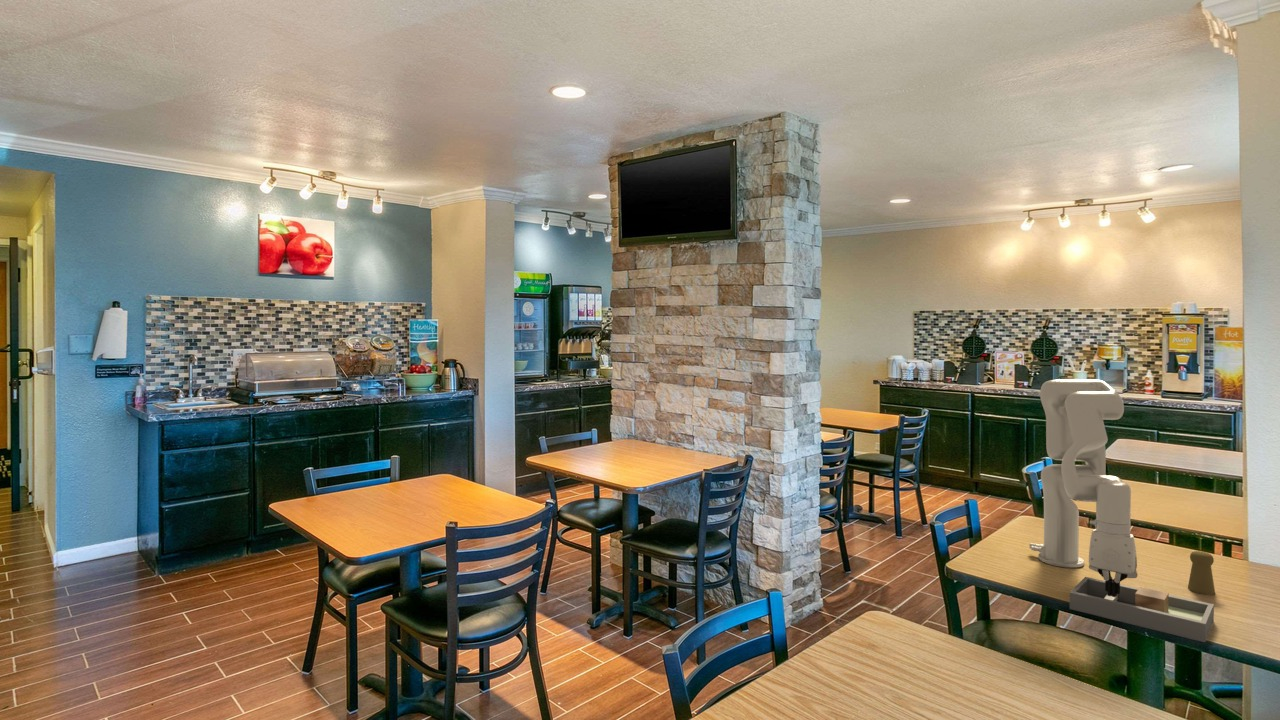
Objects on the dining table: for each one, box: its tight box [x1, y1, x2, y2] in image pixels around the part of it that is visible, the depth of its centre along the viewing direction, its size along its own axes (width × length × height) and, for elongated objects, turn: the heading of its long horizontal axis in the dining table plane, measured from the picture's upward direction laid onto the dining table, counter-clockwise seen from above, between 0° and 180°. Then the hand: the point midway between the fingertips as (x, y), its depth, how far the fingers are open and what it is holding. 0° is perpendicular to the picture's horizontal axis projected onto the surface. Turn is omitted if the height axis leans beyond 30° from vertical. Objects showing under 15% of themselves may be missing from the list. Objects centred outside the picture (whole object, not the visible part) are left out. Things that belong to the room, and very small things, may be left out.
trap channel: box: [1069, 576, 1215, 643], centre depth 174 cm, size 28×16×4 cm, turn 44°
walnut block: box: [1135, 586, 1170, 613], centre depth 172 cm, size 6×6×4 cm
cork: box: [1187, 550, 1216, 596], centre depth 189 cm, size 6×6×11 cm
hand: (1112, 595), depth 178 cm, fingers closed
